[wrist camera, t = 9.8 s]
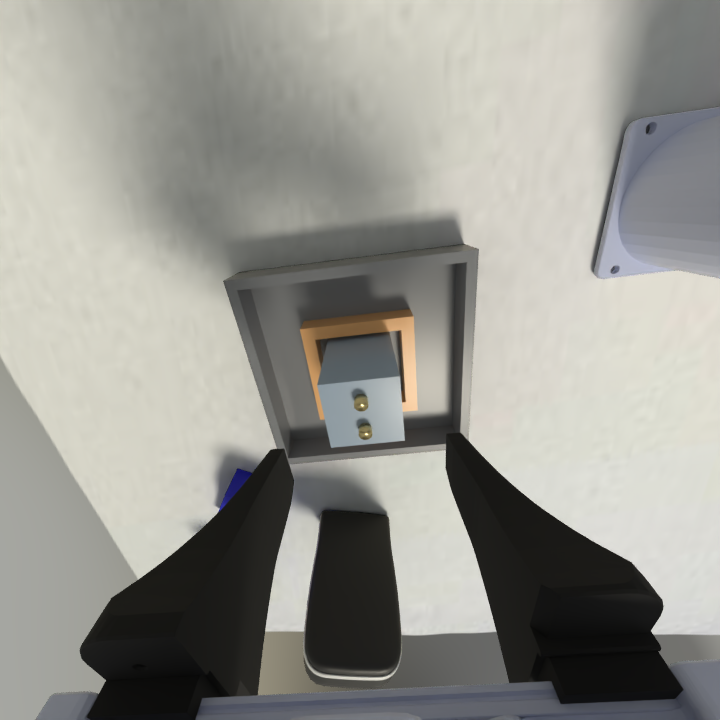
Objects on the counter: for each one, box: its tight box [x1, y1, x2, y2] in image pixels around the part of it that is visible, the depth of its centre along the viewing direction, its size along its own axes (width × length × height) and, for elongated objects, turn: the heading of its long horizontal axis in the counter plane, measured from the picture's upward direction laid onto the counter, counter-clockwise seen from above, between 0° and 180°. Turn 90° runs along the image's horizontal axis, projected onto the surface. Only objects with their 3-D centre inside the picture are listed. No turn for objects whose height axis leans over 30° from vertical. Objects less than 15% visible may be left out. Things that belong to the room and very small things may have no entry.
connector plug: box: [317, 332, 405, 448], centre depth 18 cm, size 4×4×7 cm
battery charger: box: [303, 511, 402, 688], centre depth 25 cm, size 7×4×11 cm, turn 82°
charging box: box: [223, 244, 479, 464], centre depth 21 cm, size 14×14×2 cm
